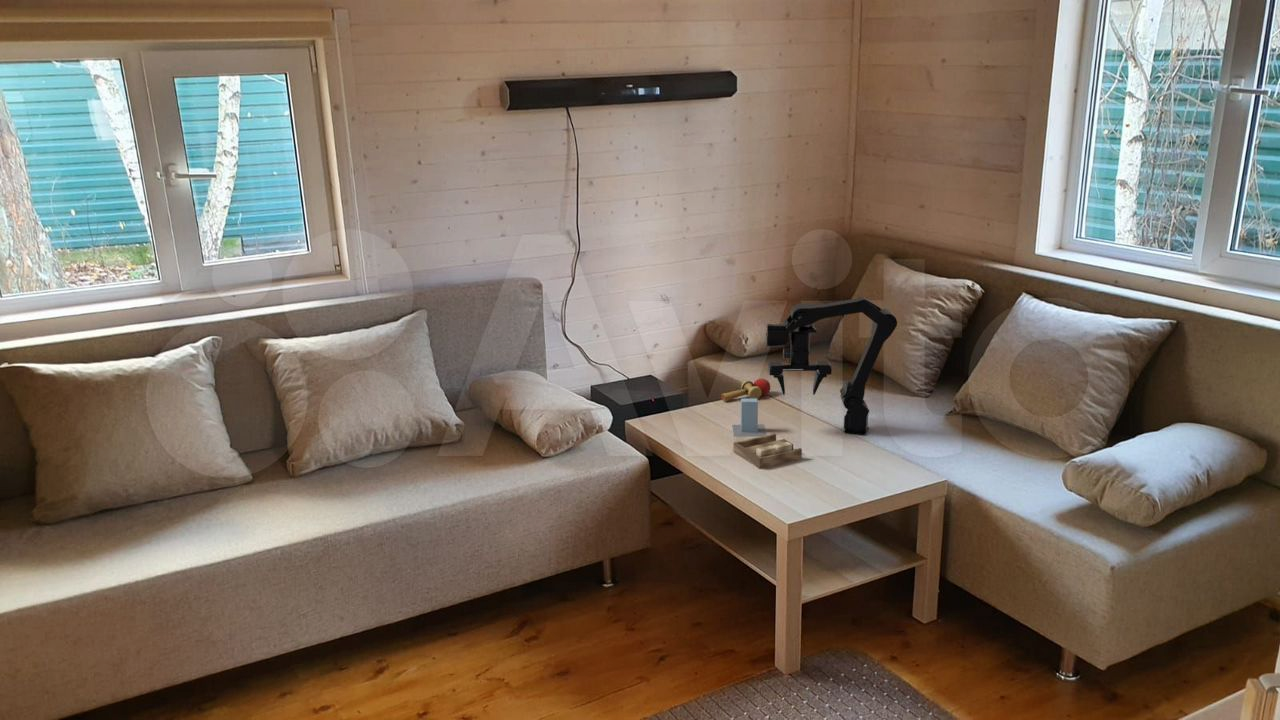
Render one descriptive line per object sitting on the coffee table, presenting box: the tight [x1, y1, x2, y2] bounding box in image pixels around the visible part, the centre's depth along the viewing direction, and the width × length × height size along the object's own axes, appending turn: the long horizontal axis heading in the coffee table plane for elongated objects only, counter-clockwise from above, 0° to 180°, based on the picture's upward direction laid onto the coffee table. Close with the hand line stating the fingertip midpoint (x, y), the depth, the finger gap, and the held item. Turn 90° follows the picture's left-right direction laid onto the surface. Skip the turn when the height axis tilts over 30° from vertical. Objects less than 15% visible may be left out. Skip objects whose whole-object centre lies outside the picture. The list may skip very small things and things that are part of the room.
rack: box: [733, 433, 803, 470], centre depth 279 cm, size 14×14×4 cm
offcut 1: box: [756, 446, 775, 457], centre depth 274 cm, size 5×2×4 cm, turn 116°
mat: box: [731, 423, 767, 438], centre depth 299 cm, size 10×10×1 cm
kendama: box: [720, 378, 771, 403], centre depth 329 cm, size 8×6×18 cm
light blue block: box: [740, 398, 759, 432], centre depth 297 cm, size 5×3×10 cm, turn 88°
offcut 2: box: [773, 441, 793, 454], centre depth 276 cm, size 5×2×4 cm, turn 116°
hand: (798, 394), depth 296 cm, fingers open, 9 cm apart
